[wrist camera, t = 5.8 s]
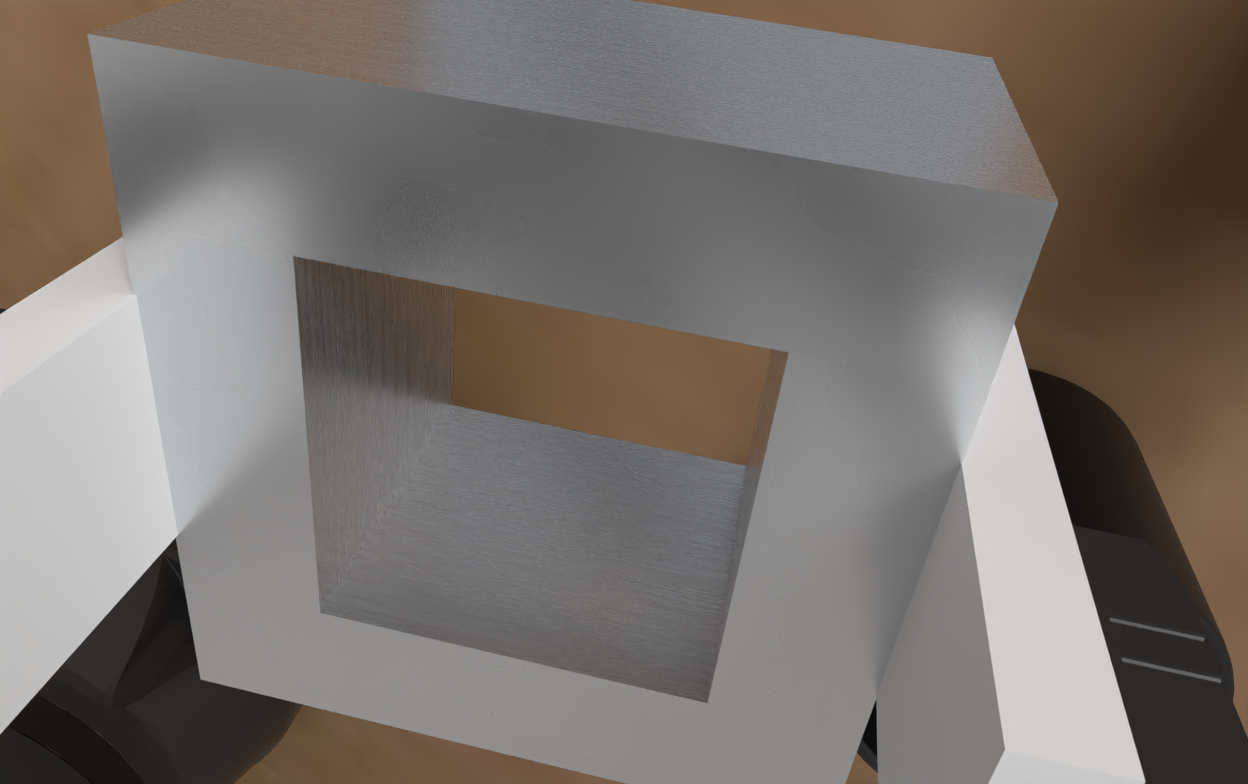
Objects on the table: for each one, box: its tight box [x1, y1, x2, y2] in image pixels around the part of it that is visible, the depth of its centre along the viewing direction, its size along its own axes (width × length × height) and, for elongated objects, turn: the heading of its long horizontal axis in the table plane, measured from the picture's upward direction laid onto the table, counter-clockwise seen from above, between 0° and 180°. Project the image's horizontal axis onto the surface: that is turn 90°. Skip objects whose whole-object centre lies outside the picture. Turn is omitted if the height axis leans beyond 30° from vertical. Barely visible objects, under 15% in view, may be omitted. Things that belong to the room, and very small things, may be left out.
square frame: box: [88, 0, 1059, 784], centre depth 11 cm, size 7×7×4 cm
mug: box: [857, 369, 1234, 773], centre depth 29 cm, size 9×12×9 cm
